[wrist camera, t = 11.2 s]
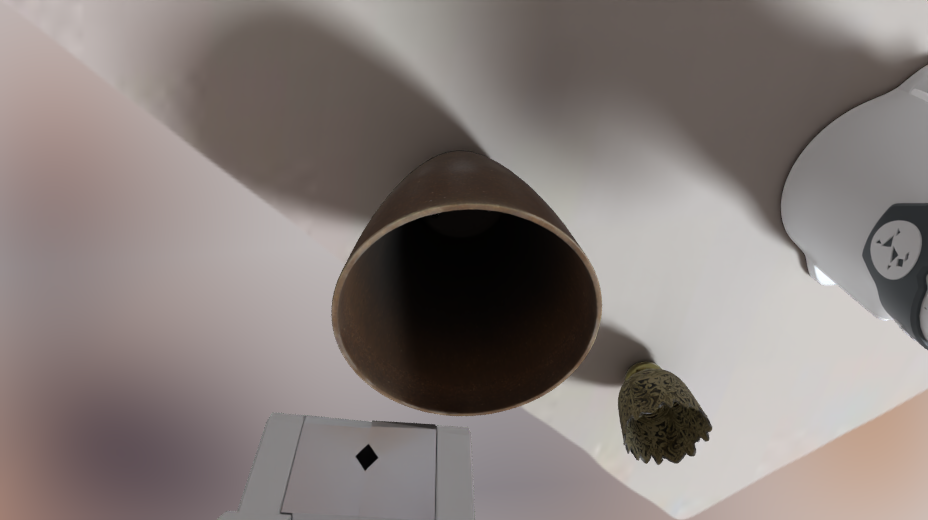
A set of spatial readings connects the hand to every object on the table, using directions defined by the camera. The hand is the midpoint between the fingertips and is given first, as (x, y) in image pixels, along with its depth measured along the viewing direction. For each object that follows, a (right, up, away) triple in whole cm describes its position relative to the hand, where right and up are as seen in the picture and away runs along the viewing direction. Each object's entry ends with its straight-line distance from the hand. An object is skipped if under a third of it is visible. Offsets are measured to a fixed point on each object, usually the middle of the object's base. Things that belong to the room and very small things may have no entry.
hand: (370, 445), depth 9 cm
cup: (+19, -8, +48) cm, 52 cm away
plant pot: (+1, +8, +37) cm, 38 cm away
